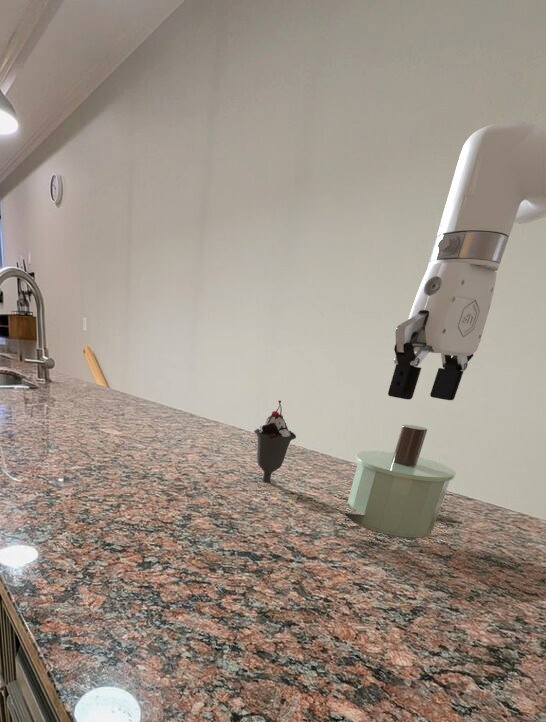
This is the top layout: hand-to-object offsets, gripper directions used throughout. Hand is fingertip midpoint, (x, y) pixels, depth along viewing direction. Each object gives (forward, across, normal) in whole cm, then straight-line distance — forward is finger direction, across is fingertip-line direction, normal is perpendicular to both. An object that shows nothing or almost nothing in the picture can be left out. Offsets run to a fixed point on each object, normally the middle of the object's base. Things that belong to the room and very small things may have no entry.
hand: (421, 398), depth 61 cm
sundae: (+19, -10, +16) cm, 26 cm away
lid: (+10, 0, 0) cm, 10 cm away
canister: (+18, 0, 0) cm, 18 cm away
